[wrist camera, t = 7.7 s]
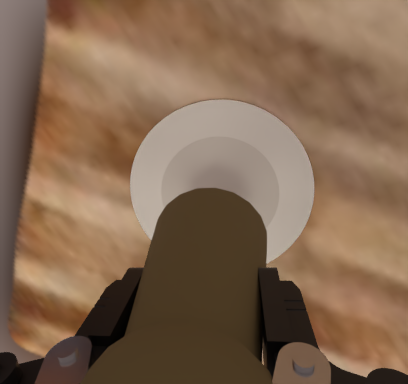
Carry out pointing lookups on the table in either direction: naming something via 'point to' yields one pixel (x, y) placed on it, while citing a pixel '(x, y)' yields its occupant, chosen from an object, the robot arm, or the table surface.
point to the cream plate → (226, 166)
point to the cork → (195, 299)
